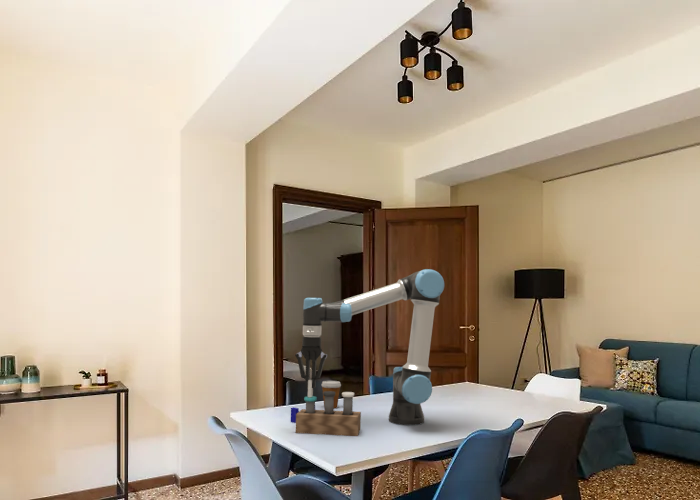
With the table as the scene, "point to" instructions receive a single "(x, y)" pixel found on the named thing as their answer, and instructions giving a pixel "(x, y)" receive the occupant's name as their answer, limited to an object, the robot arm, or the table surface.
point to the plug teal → (310, 404)
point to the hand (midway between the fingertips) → (310, 396)
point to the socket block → (328, 423)
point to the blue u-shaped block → (294, 414)
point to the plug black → (329, 402)
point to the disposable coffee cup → (332, 387)
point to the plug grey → (347, 402)
